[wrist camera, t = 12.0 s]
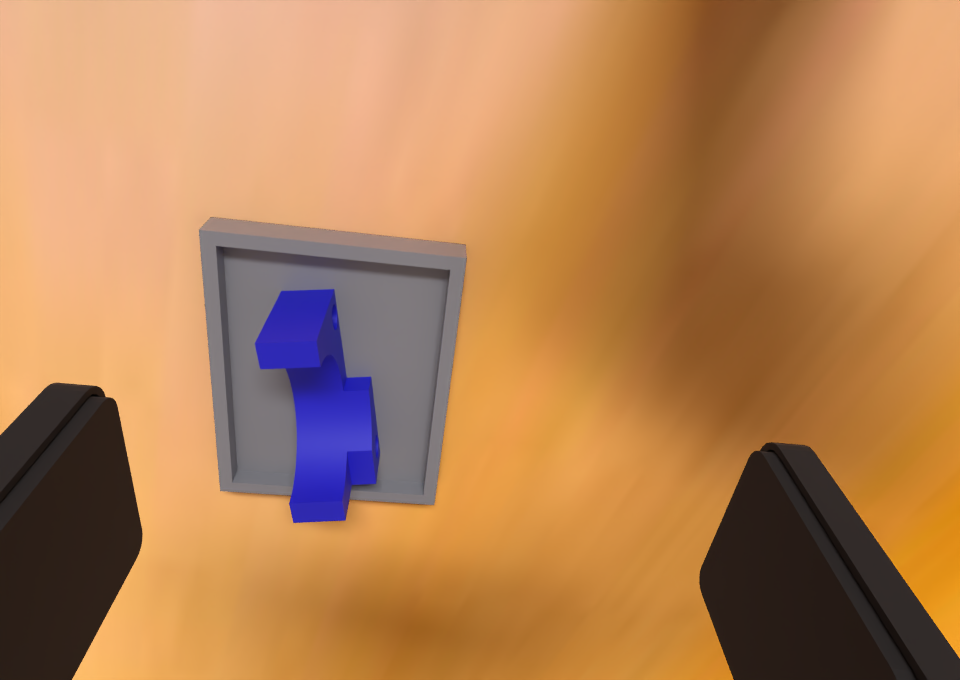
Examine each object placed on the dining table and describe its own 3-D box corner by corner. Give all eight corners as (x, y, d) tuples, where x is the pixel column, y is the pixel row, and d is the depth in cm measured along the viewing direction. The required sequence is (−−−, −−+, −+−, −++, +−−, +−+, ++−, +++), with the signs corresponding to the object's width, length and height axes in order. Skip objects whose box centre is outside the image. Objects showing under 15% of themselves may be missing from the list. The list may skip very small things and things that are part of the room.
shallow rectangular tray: (465, 244, 37) (466, 258, 35) (434, 484, 46) (434, 504, 44) (211, 217, 36) (199, 229, 34) (229, 470, 44) (220, 491, 42)
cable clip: (380, 452, 43) (371, 519, 38) (311, 455, 43) (293, 522, 38) (360, 288, 37) (347, 339, 32) (281, 290, 37) (254, 343, 32)
